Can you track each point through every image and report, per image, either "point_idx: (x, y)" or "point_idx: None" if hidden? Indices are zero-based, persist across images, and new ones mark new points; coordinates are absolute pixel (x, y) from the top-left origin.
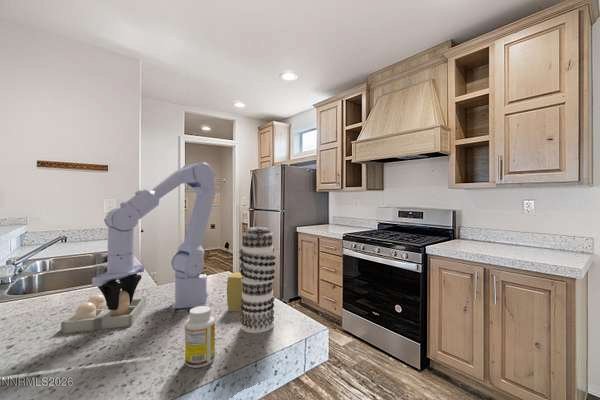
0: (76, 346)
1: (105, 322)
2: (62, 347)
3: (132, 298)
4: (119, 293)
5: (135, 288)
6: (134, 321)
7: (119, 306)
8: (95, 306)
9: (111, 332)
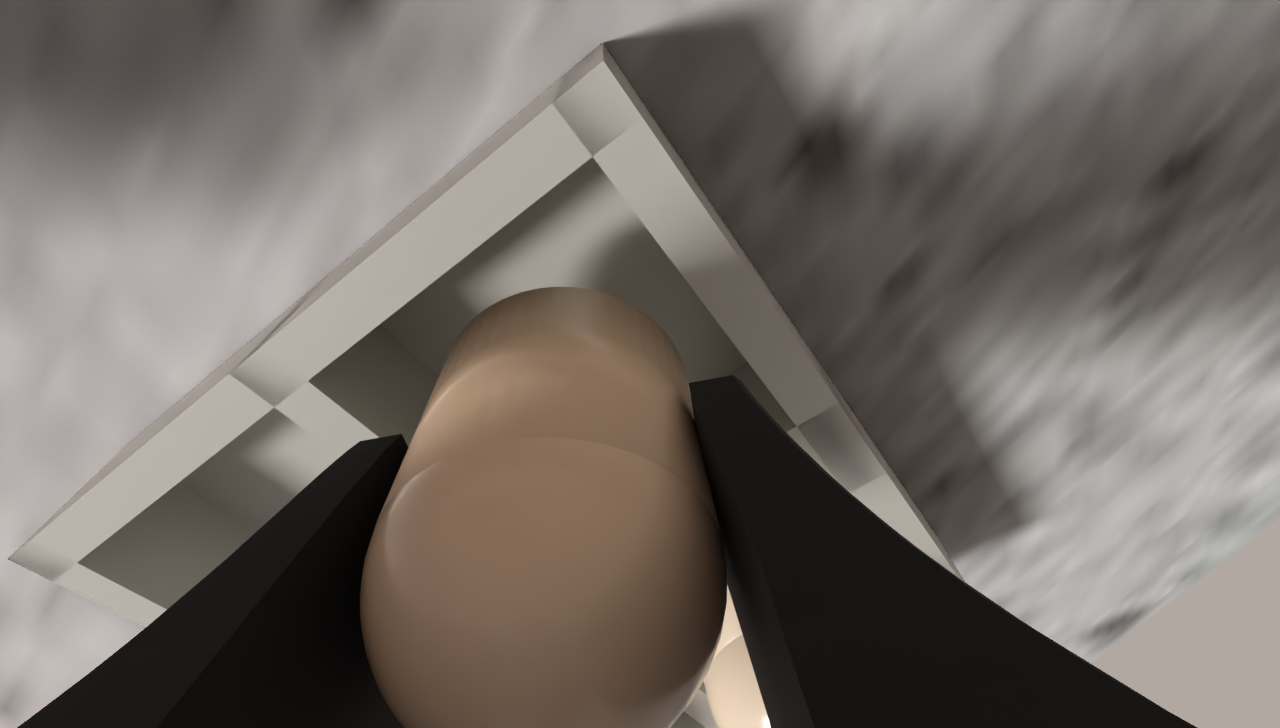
0: (1152, 212)
1: (801, 342)
2: (1162, 318)
3: (310, 486)
4: (786, 612)
5: (84, 686)
6: (486, 143)
7: (660, 399)
8: (736, 678)
9: (795, 180)
